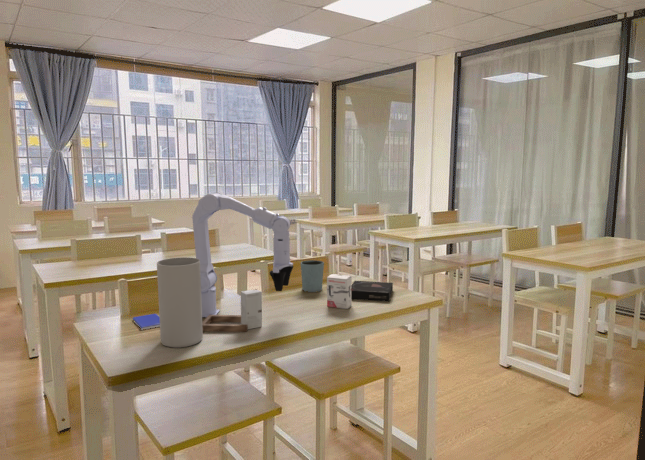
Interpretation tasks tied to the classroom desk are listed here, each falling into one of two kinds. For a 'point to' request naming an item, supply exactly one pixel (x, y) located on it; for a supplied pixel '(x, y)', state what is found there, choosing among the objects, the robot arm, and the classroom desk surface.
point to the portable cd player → (371, 291)
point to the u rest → (224, 327)
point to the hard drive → (147, 321)
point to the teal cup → (312, 275)
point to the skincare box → (251, 308)
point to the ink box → (339, 291)
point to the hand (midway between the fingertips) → (282, 288)
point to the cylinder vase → (180, 301)
